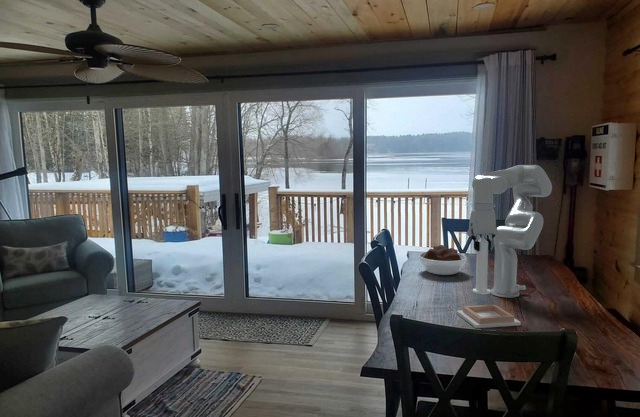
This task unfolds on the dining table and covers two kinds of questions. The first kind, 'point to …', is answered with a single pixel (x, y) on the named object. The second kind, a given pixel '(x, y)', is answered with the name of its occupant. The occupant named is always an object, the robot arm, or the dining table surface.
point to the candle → (482, 268)
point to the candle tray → (487, 316)
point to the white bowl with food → (442, 260)
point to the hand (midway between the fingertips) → (482, 249)
